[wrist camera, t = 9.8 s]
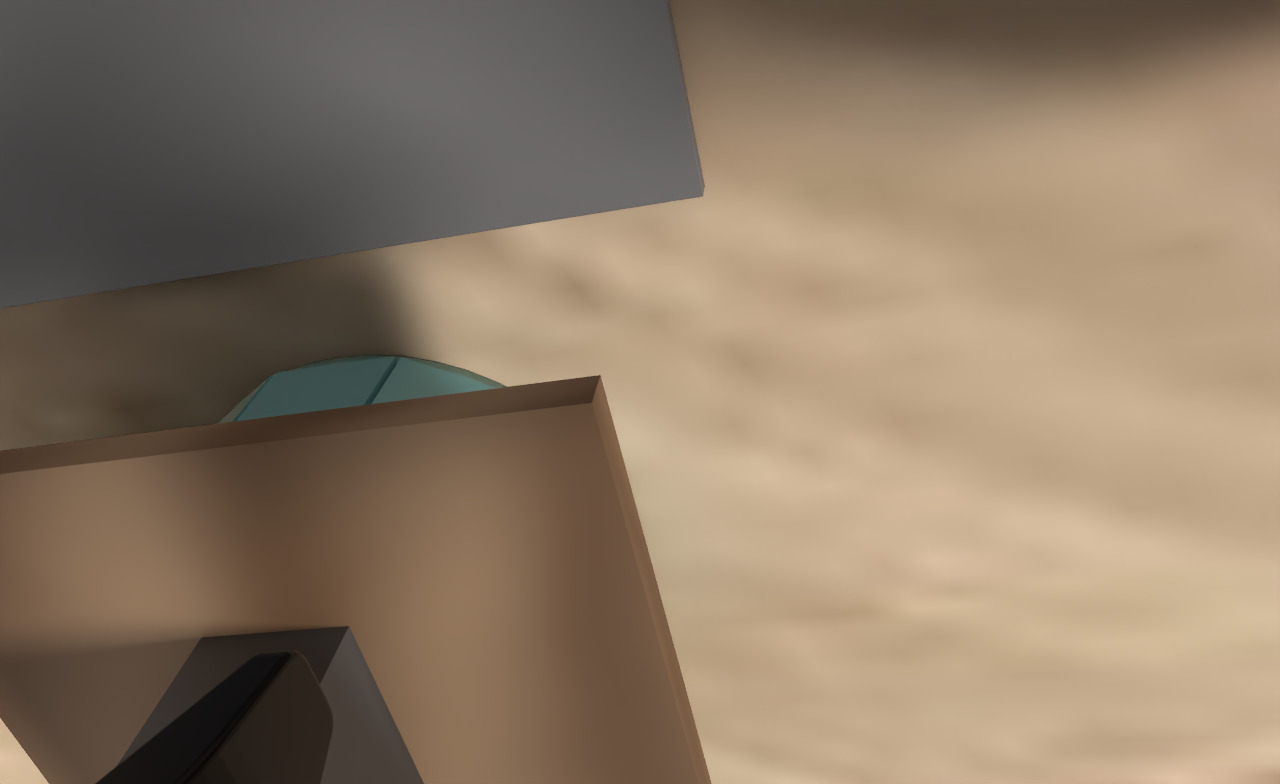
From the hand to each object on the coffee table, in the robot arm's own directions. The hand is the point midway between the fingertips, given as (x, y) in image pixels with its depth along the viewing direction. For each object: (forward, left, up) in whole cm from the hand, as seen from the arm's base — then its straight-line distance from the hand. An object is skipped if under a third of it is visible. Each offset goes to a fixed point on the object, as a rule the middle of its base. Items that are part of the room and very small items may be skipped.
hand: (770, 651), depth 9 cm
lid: (+10, +8, -7) cm, 14 cm away
